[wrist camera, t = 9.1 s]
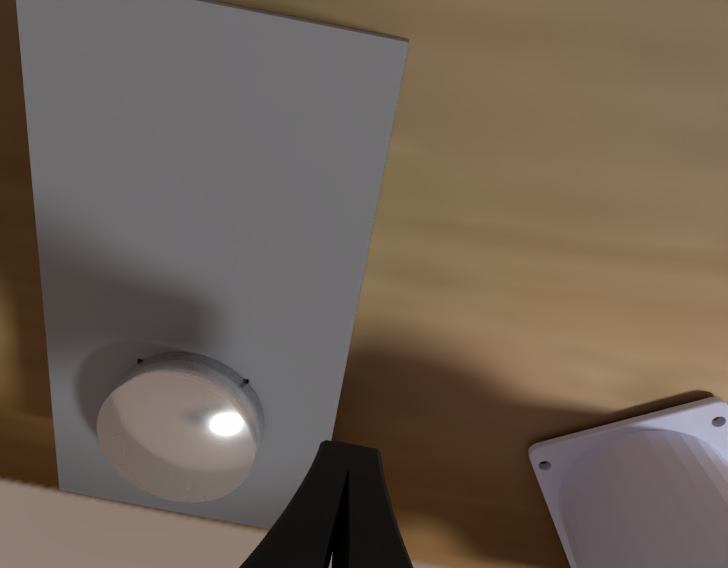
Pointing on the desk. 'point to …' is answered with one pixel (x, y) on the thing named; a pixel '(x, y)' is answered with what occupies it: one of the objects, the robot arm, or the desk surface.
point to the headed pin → (182, 427)
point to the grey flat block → (202, 214)
